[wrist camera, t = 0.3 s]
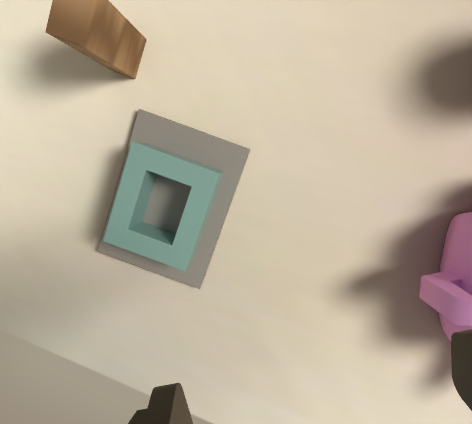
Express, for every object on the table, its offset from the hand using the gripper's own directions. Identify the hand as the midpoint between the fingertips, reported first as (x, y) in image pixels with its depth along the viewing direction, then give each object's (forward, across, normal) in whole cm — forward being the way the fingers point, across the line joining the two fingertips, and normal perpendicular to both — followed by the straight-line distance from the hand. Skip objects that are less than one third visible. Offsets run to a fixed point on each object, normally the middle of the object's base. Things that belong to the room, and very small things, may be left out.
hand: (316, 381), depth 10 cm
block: (+30, +10, -16) cm, 35 cm away
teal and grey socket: (+28, +9, 0) cm, 29 cm away
